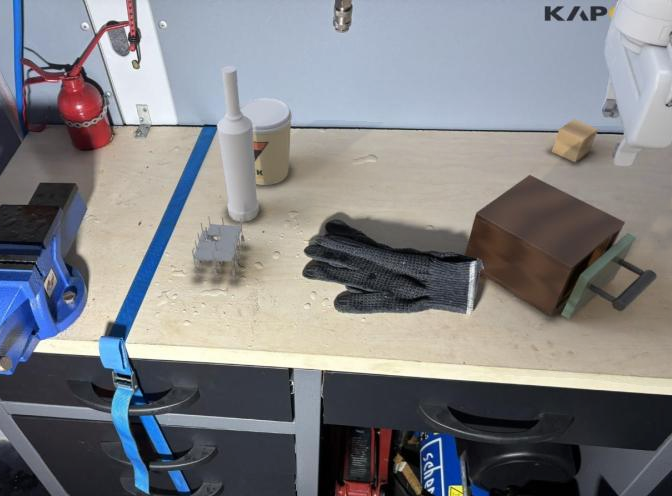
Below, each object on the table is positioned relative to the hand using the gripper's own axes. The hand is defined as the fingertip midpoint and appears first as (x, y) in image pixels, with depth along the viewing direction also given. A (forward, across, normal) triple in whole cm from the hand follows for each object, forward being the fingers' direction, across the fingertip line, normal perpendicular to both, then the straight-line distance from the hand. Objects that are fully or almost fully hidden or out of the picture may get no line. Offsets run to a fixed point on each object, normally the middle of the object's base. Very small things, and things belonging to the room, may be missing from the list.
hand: (614, 137), depth 66 cm
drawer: (+24, +2, -2) cm, 25 cm away
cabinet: (+25, +5, +2) cm, 26 cm away
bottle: (+25, +9, +47) cm, 54 cm away
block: (+26, +36, -6) cm, 44 cm away
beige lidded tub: (+25, +21, +46) cm, 57 cm away
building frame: (+25, -3, +48) cm, 54 cm away
